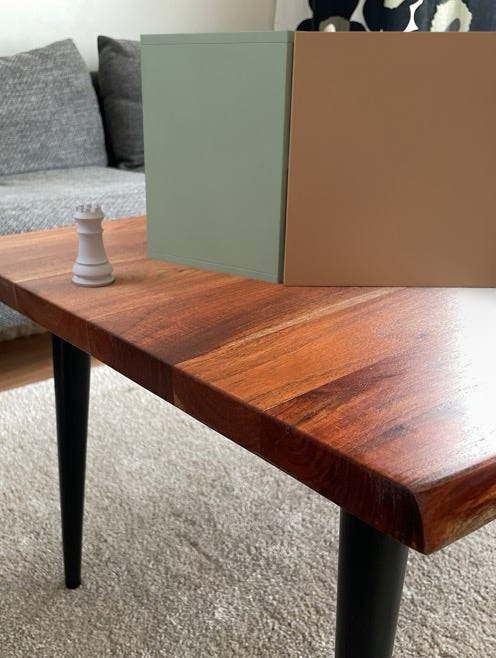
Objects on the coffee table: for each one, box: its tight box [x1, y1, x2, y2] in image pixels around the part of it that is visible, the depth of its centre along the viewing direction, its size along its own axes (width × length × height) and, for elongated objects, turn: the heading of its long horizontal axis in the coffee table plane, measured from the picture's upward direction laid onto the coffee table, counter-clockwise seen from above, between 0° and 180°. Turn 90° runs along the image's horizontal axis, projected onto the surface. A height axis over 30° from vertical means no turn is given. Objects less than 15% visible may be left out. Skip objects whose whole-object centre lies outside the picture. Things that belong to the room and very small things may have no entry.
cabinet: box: [139, 29, 307, 285], centre depth 84 cm, size 18×24×24 cm
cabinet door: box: [282, 31, 496, 288], centre depth 67 cm, size 8×24×24 cm, turn 89°
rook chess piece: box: [71, 203, 115, 288], centre depth 74 cm, size 4×4×8 cm
